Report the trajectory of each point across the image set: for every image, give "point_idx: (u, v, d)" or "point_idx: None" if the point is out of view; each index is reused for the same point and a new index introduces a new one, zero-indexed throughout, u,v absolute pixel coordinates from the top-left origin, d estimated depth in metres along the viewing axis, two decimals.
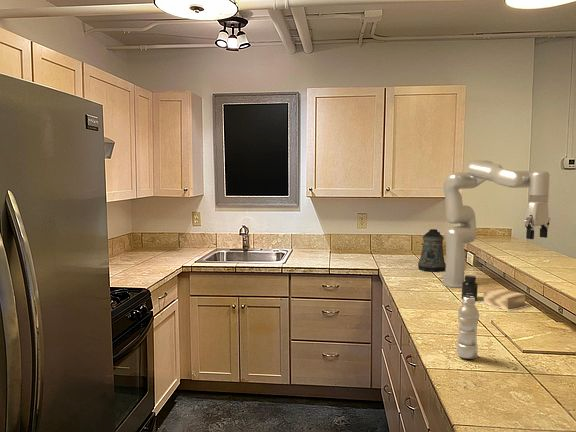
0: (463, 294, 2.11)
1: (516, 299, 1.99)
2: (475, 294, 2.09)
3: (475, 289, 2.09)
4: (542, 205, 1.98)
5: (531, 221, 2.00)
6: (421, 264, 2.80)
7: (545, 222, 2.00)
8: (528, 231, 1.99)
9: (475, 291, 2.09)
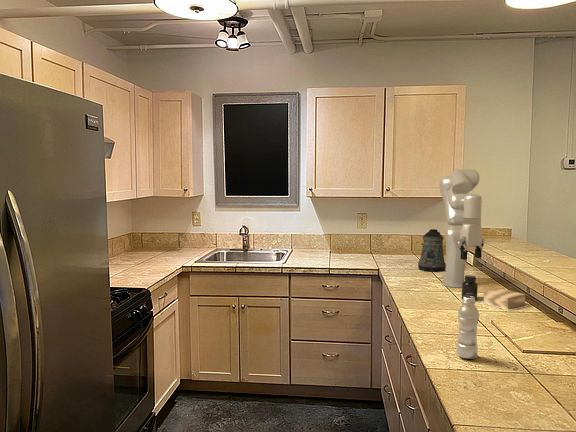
0: (463, 294, 2.11)
1: (516, 299, 1.99)
2: (475, 294, 2.09)
3: (475, 289, 2.09)
4: (475, 227, 2.07)
5: (465, 242, 2.09)
6: (421, 264, 2.80)
7: (478, 243, 2.09)
8: (462, 252, 2.07)
9: (475, 291, 2.09)
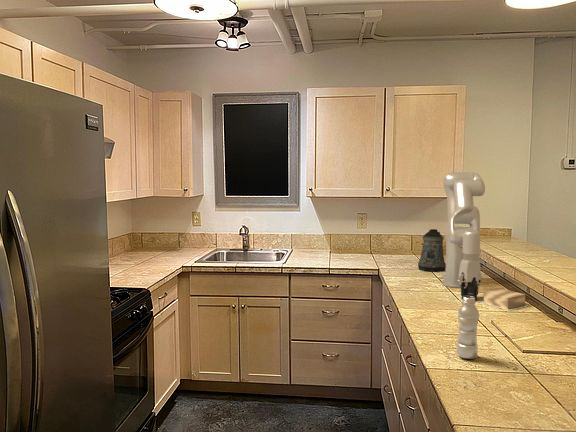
0: None
1: (516, 299, 1.99)
2: (475, 294, 2.09)
3: (475, 289, 2.09)
4: (474, 263, 2.08)
5: (464, 278, 2.10)
6: (421, 264, 2.80)
7: (477, 279, 2.11)
8: (462, 289, 2.10)
9: (475, 291, 2.09)
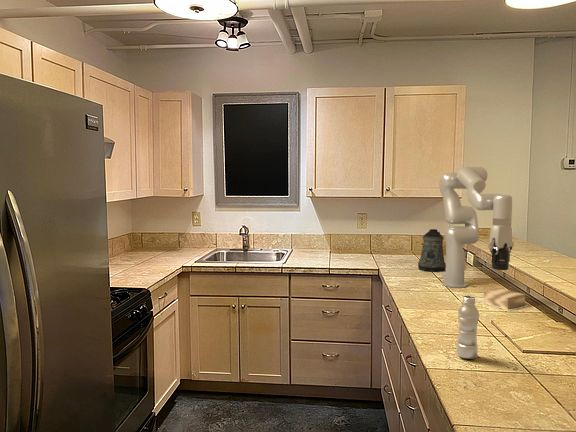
0: None
1: (516, 299, 1.99)
2: (507, 261, 2.01)
3: (507, 255, 2.00)
4: (505, 228, 2.00)
5: (494, 244, 2.02)
6: (421, 264, 2.80)
7: (509, 245, 2.02)
8: (493, 255, 2.01)
9: (507, 257, 2.00)
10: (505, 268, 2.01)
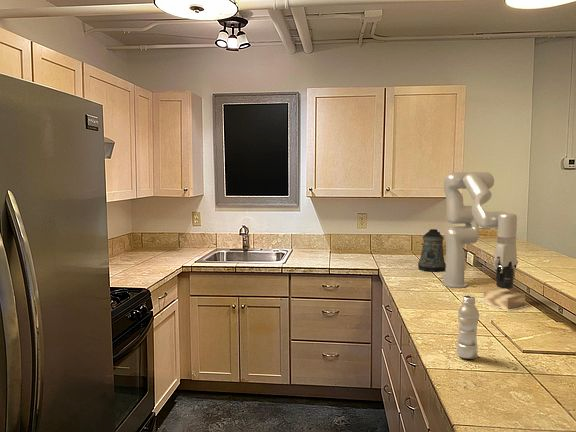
0: None
1: (516, 299, 1.99)
2: (511, 279, 2.00)
3: (511, 274, 2.00)
4: (510, 247, 1.99)
5: (499, 262, 2.02)
6: (421, 264, 2.80)
7: (513, 263, 2.02)
8: (498, 274, 2.01)
9: (511, 276, 2.00)
10: (510, 287, 2.00)
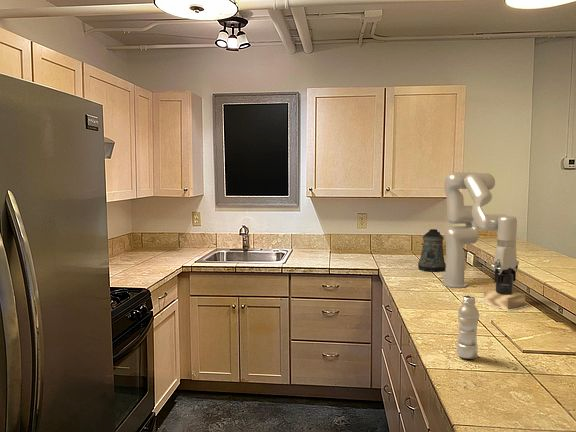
0: (498, 285, 2.03)
1: (516, 299, 1.99)
2: (511, 285, 2.01)
3: (511, 280, 2.00)
4: (510, 250, 2.00)
5: (499, 265, 2.02)
6: (421, 264, 2.80)
7: (513, 266, 2.02)
8: (496, 275, 2.01)
9: (511, 282, 2.01)
10: (509, 293, 2.01)
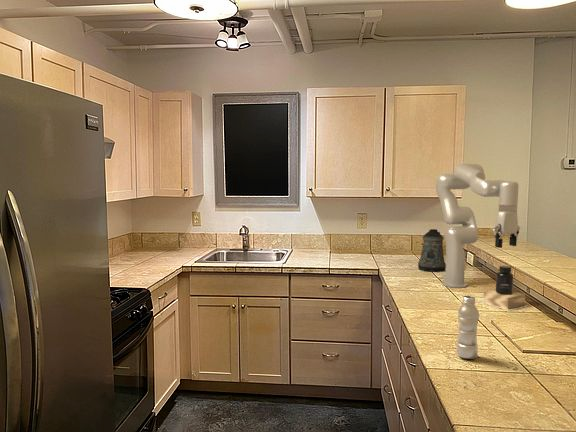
0: (498, 285, 2.03)
1: (516, 299, 1.99)
2: (511, 285, 2.01)
3: (511, 280, 2.00)
4: (511, 215, 2.02)
5: (500, 230, 2.04)
6: (421, 264, 2.80)
7: (514, 231, 2.05)
8: (497, 240, 2.03)
9: (511, 282, 2.01)
10: (509, 293, 2.01)
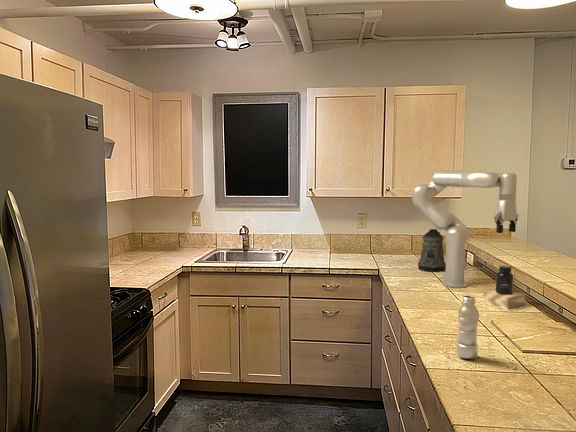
0: (498, 285, 2.03)
1: (516, 299, 1.99)
2: (511, 285, 2.01)
3: (511, 280, 2.00)
4: (510, 203, 2.22)
5: (500, 217, 2.25)
6: (421, 264, 2.80)
7: (513, 218, 2.25)
8: (498, 226, 2.23)
9: (511, 282, 2.01)
10: (509, 293, 2.01)
